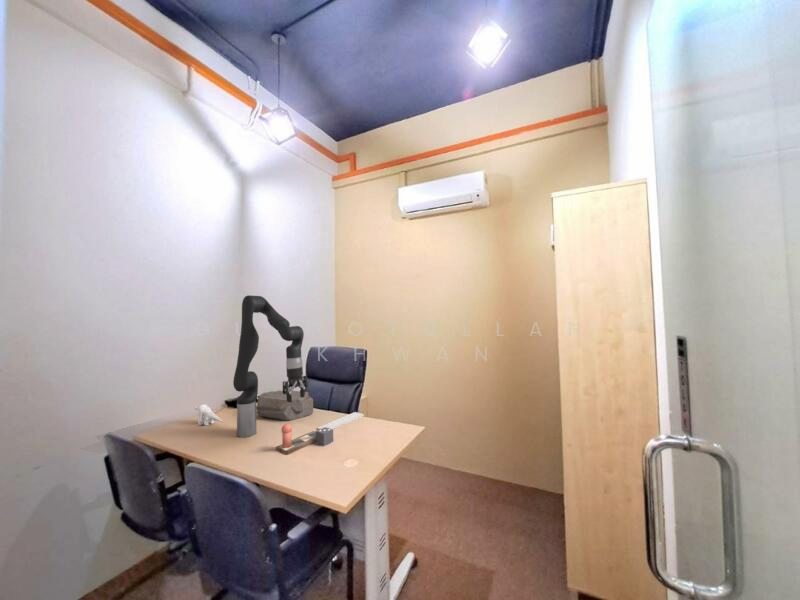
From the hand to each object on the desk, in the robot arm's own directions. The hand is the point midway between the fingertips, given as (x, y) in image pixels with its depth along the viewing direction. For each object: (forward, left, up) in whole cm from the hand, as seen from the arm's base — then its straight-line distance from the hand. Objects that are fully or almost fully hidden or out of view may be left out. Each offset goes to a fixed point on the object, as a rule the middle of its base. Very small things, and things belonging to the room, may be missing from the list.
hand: (296, 399), depth 149 cm
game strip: (0, +3, -22) cm, 23 cm away
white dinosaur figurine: (-69, -11, -23) cm, 73 cm away
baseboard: (-5, +34, -23) cm, 41 cm away
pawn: (0, -6, -21) cm, 21 cm away
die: (+9, +10, -22) cm, 26 cm away
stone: (-45, +24, -23) cm, 56 cm away
